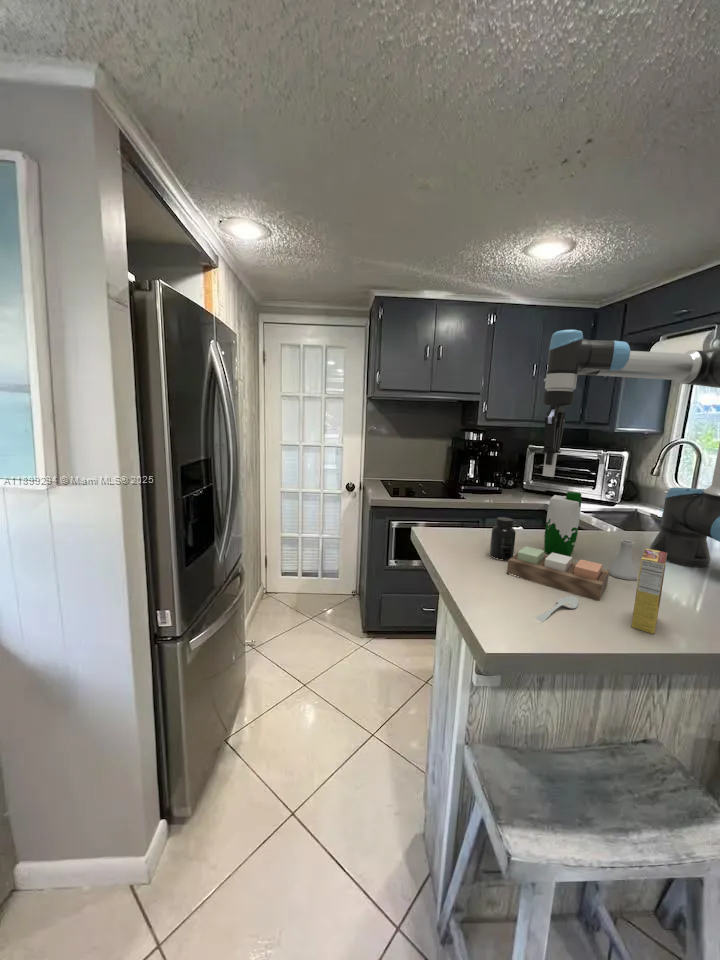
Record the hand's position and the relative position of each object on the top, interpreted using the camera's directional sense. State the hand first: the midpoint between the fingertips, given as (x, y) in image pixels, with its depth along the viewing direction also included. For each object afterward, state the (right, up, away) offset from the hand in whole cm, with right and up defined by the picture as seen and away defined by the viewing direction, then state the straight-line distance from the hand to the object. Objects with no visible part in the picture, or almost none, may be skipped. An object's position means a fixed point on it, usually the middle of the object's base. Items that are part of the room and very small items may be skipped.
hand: (548, 476), depth 111 cm
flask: (+20, -28, -1) cm, 35 cm away
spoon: (-11, -31, -24) cm, 41 cm away
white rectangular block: (-1, -26, -6) cm, 26 cm away
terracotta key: (+5, -27, -11) cm, 29 cm away
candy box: (+8, -32, -27) cm, 42 cm away
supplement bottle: (-10, -25, +9) cm, 28 cm away
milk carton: (+11, -25, +16) cm, 31 cm away
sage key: (-6, -25, -2) cm, 26 cm away
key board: (-1, -28, -6) cm, 28 cm away
